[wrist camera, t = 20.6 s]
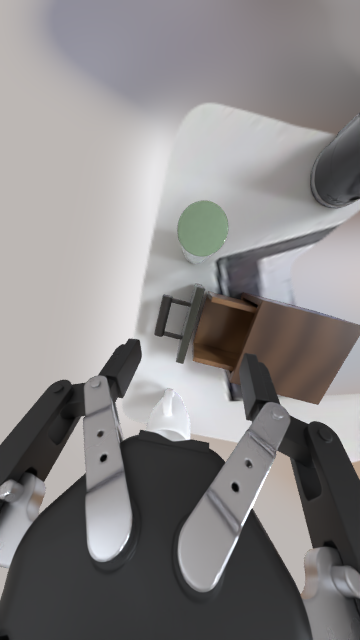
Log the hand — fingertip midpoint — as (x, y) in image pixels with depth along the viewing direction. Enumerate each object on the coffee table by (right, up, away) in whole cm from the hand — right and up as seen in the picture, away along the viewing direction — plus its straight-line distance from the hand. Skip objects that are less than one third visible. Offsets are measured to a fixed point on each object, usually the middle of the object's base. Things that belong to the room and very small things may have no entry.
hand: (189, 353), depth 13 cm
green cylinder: (+2, +15, +18) cm, 23 cm away
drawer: (+5, +2, +20) cm, 21 cm away
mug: (-2, -14, +26) cm, 30 cm away
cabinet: (+17, 0, +21) cm, 27 cm away
